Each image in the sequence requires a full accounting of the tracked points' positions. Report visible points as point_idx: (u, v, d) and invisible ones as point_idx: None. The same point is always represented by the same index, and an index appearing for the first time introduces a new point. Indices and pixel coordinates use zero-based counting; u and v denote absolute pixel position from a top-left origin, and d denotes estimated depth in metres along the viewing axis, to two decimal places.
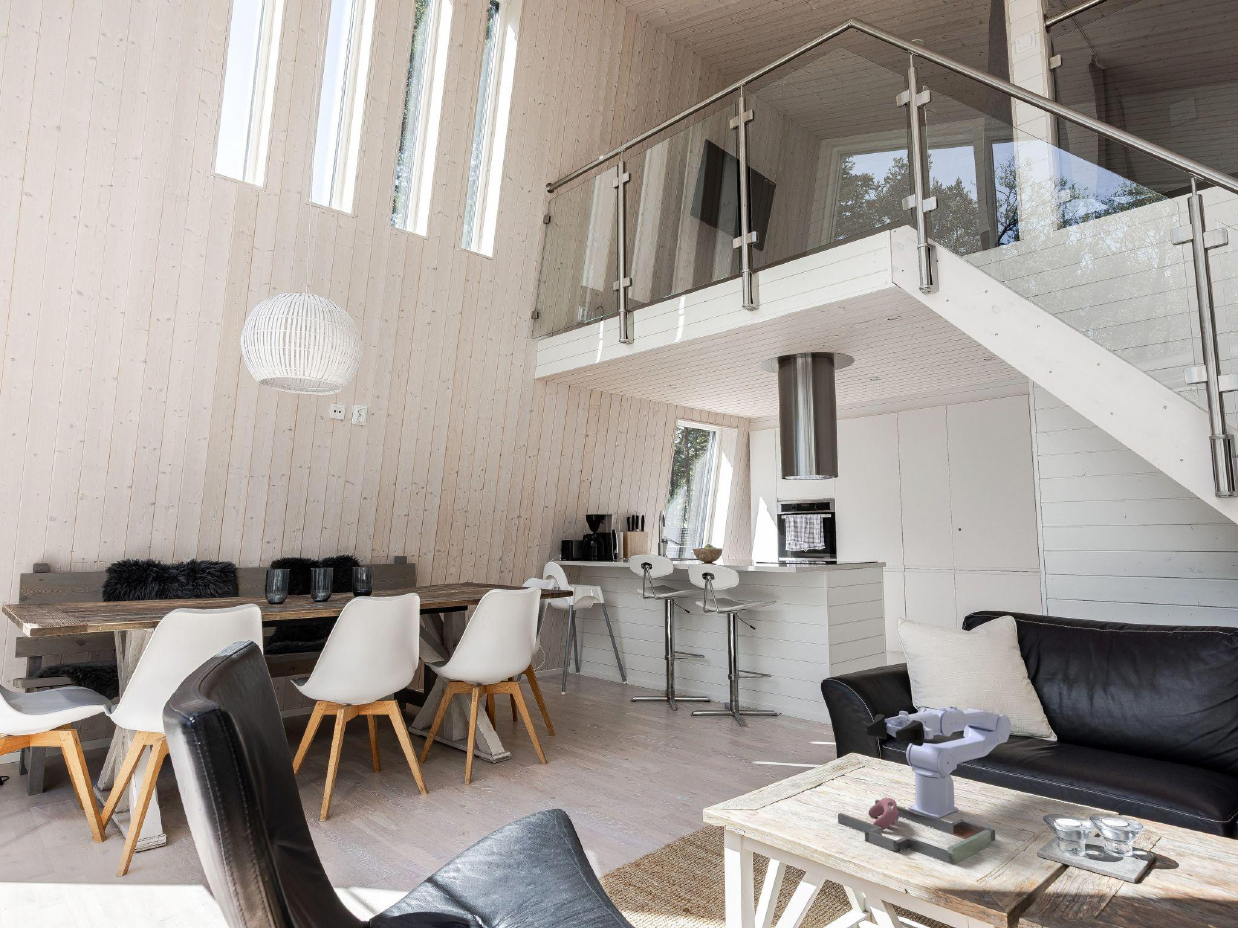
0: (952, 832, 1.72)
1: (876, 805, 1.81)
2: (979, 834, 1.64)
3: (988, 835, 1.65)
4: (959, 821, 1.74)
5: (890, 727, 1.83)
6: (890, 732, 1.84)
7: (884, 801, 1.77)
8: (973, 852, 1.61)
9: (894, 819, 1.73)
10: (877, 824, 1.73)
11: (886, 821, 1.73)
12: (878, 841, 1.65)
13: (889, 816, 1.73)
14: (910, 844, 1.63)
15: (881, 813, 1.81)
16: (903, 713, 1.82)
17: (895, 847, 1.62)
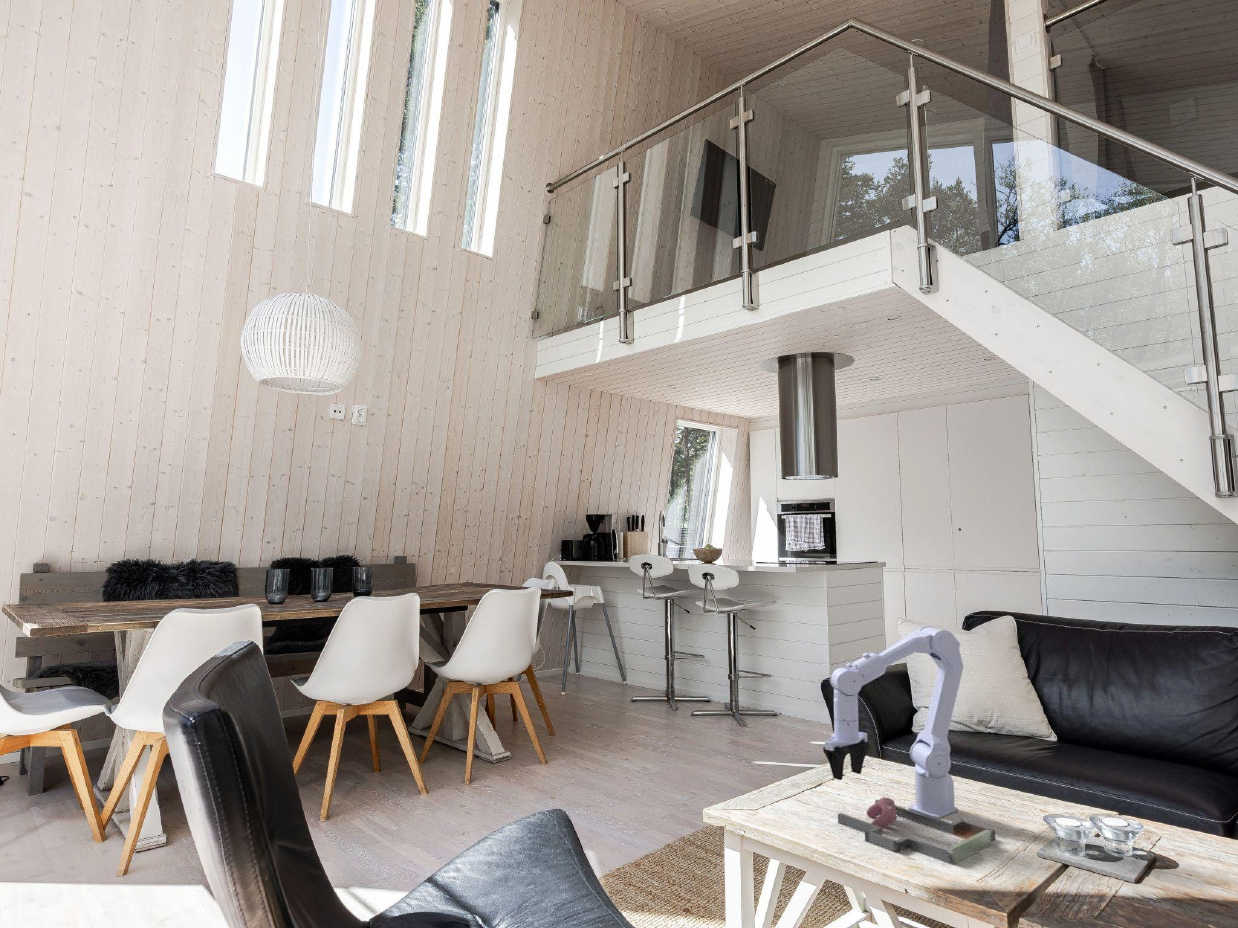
0: (952, 832, 1.72)
1: (874, 805, 1.81)
2: (979, 834, 1.64)
3: (988, 835, 1.65)
4: (959, 821, 1.74)
5: None
6: None
7: (882, 801, 1.77)
8: (973, 852, 1.61)
9: (892, 819, 1.73)
10: (875, 824, 1.73)
11: (884, 821, 1.73)
12: (878, 841, 1.65)
13: (887, 816, 1.73)
14: (910, 844, 1.63)
15: (879, 813, 1.81)
16: None
17: (895, 847, 1.62)
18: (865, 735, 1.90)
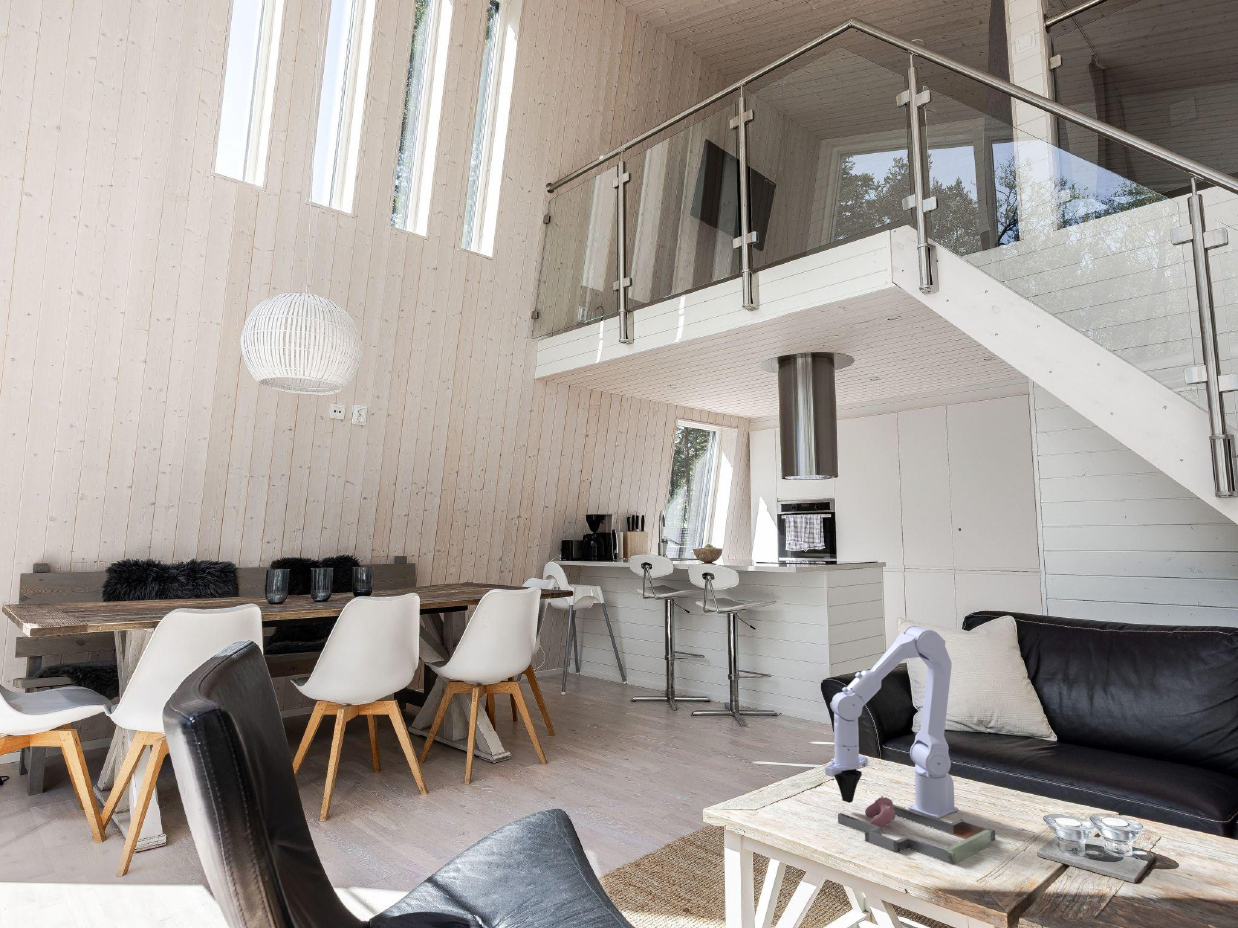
0: (952, 832, 1.72)
1: (873, 805, 1.82)
2: (979, 834, 1.64)
3: (988, 835, 1.65)
4: (959, 821, 1.74)
5: None
6: None
7: (881, 801, 1.77)
8: (973, 852, 1.61)
9: (890, 819, 1.73)
10: (873, 824, 1.73)
11: (882, 821, 1.73)
12: (878, 841, 1.65)
13: (885, 816, 1.73)
14: (910, 844, 1.63)
15: (878, 813, 1.81)
16: None
17: (895, 847, 1.62)
18: (865, 760, 1.89)
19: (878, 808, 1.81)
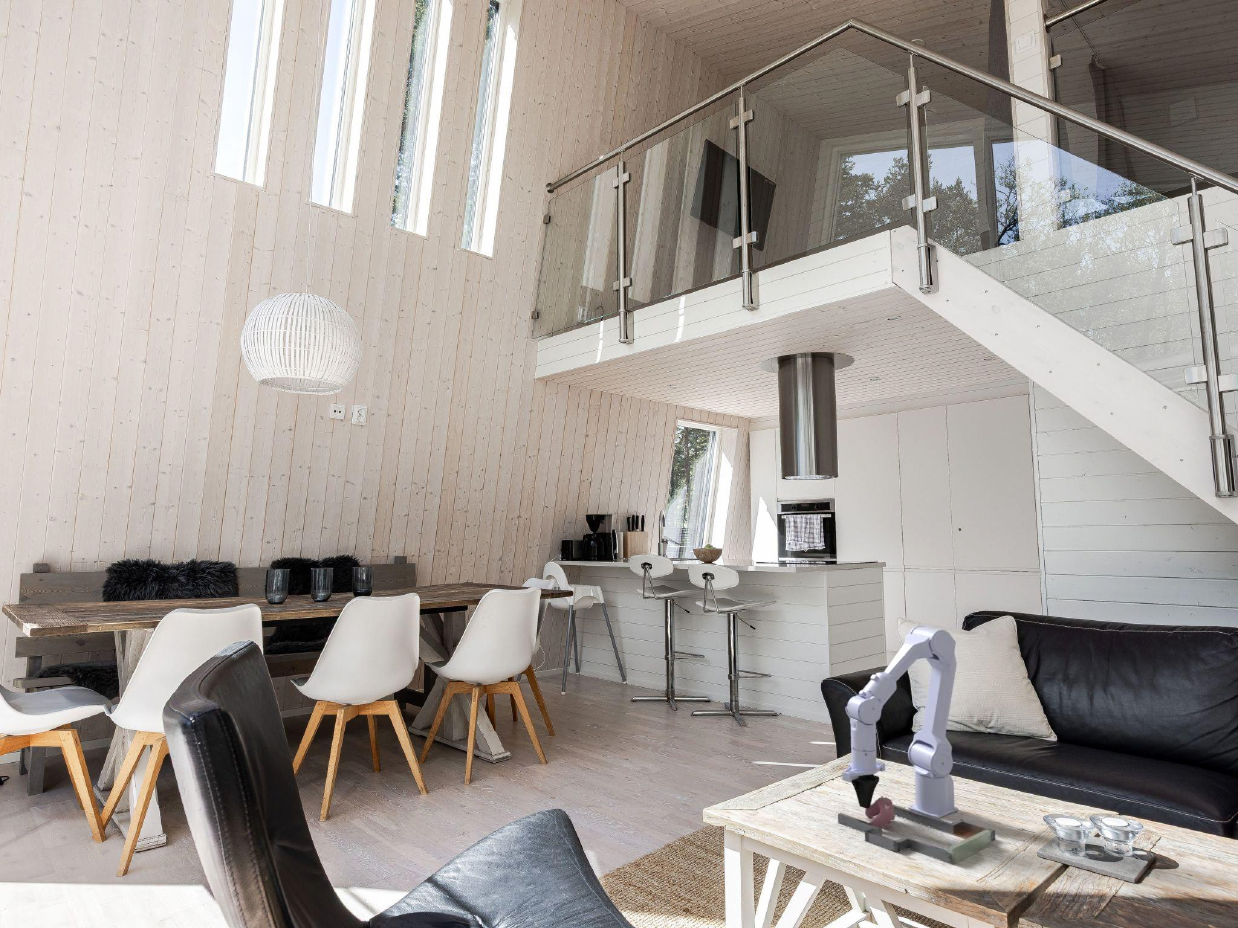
0: (952, 832, 1.72)
1: (873, 805, 1.81)
2: (979, 834, 1.64)
3: (988, 835, 1.65)
4: (959, 821, 1.74)
5: None
6: None
7: (880, 801, 1.77)
8: (973, 852, 1.61)
9: (890, 819, 1.73)
10: (873, 823, 1.73)
11: (881, 821, 1.73)
12: (878, 841, 1.65)
13: (885, 816, 1.73)
14: (910, 844, 1.63)
15: (878, 813, 1.81)
16: None
17: (895, 847, 1.62)
18: (883, 765, 1.85)
19: (878, 808, 1.80)
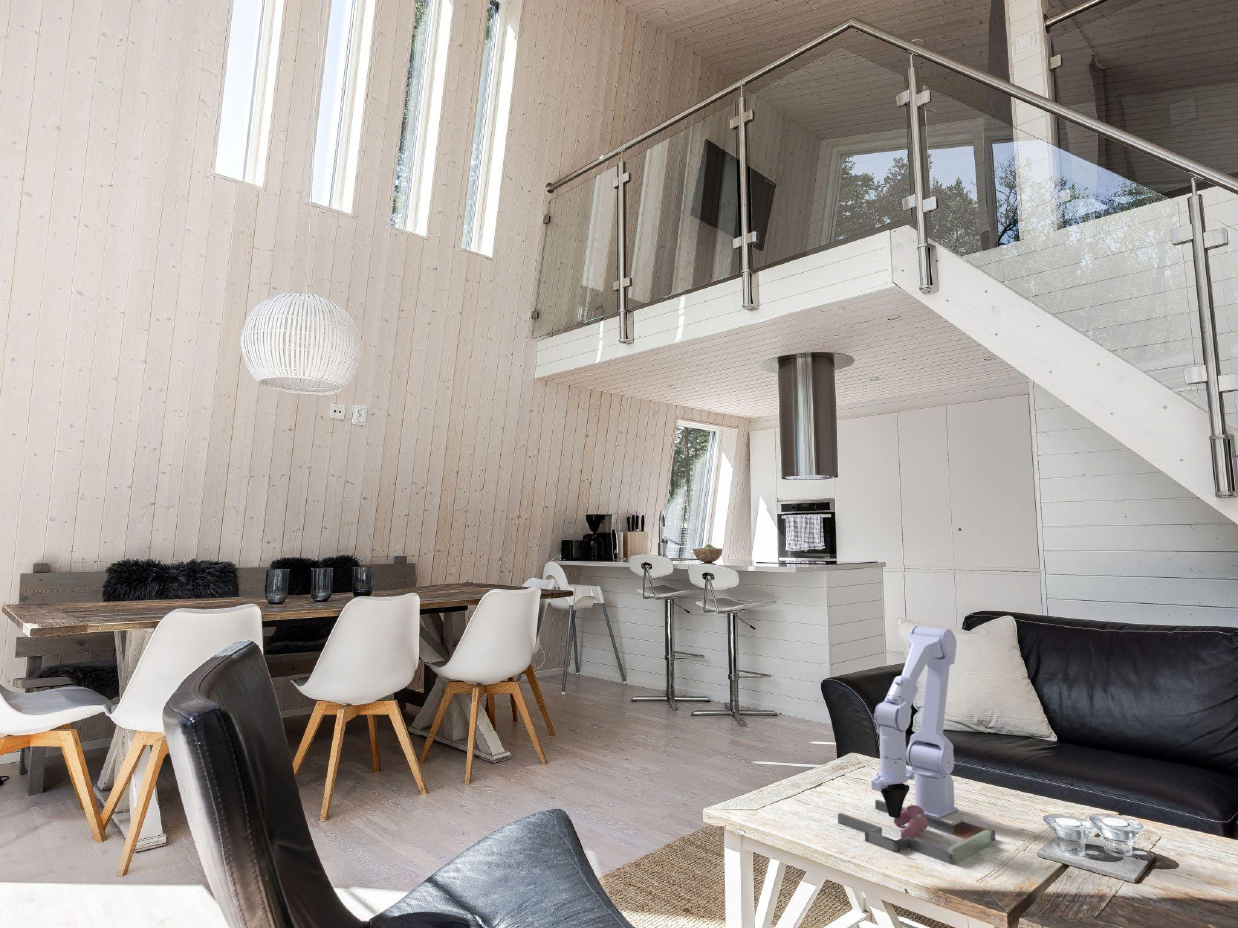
0: (952, 832, 1.72)
1: (902, 813, 1.76)
2: (979, 834, 1.64)
3: (988, 835, 1.65)
4: (959, 821, 1.74)
5: None
6: None
7: (911, 809, 1.72)
8: (973, 852, 1.61)
9: (923, 828, 1.67)
10: (906, 833, 1.68)
11: (914, 830, 1.68)
12: (878, 841, 1.65)
13: (918, 825, 1.68)
14: (910, 844, 1.63)
15: (907, 821, 1.75)
16: None
17: (895, 847, 1.62)
18: (912, 773, 1.79)
19: (907, 816, 1.75)
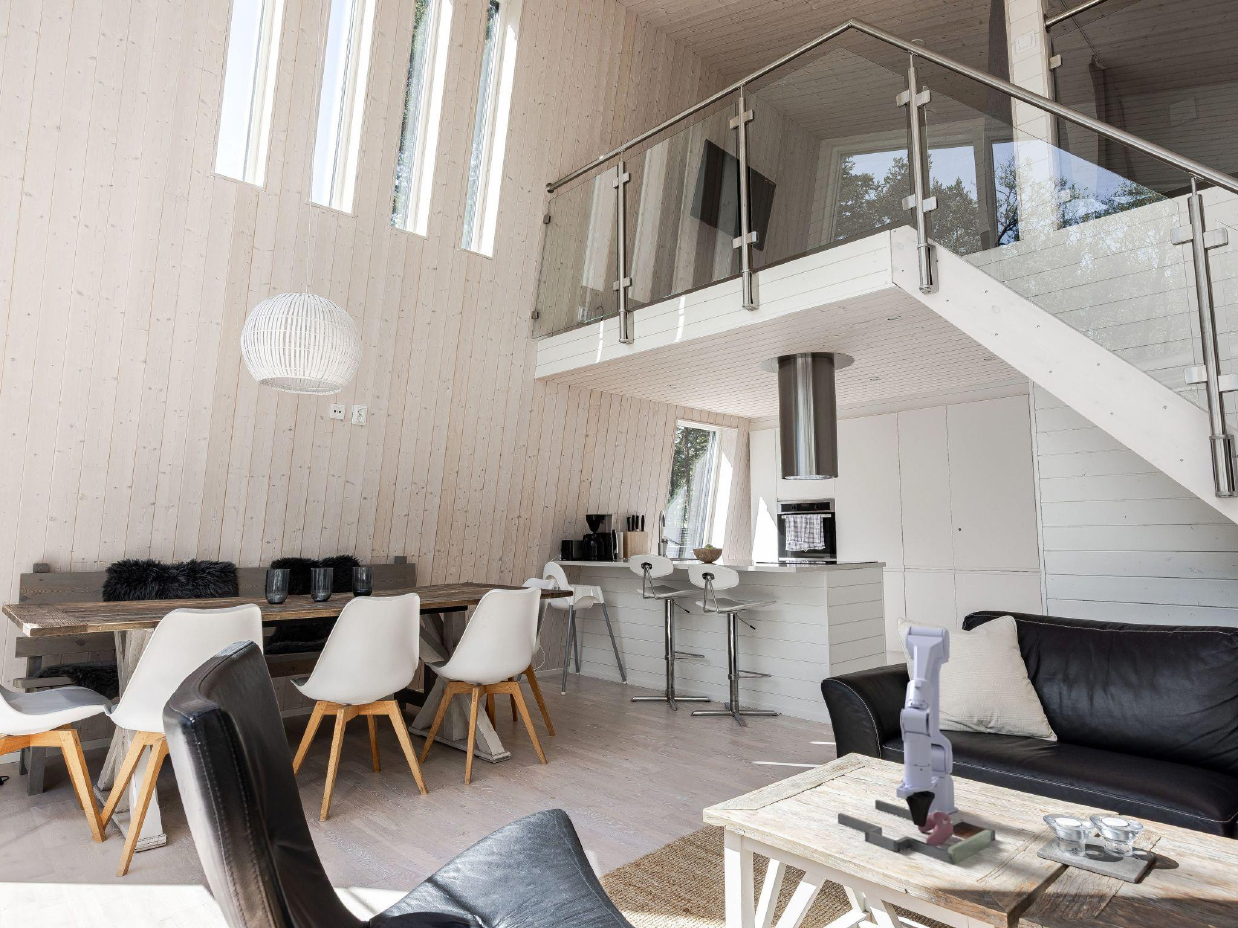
0: None
1: None
2: (979, 834, 1.64)
3: (988, 835, 1.65)
4: (959, 821, 1.74)
5: None
6: None
7: (936, 815, 1.68)
8: (973, 852, 1.61)
9: (949, 834, 1.64)
10: (931, 840, 1.64)
11: (940, 837, 1.64)
12: (878, 841, 1.65)
13: (943, 832, 1.64)
14: (910, 844, 1.63)
15: (931, 827, 1.72)
16: None
17: (895, 847, 1.62)
18: (937, 780, 1.74)
19: (932, 822, 1.72)
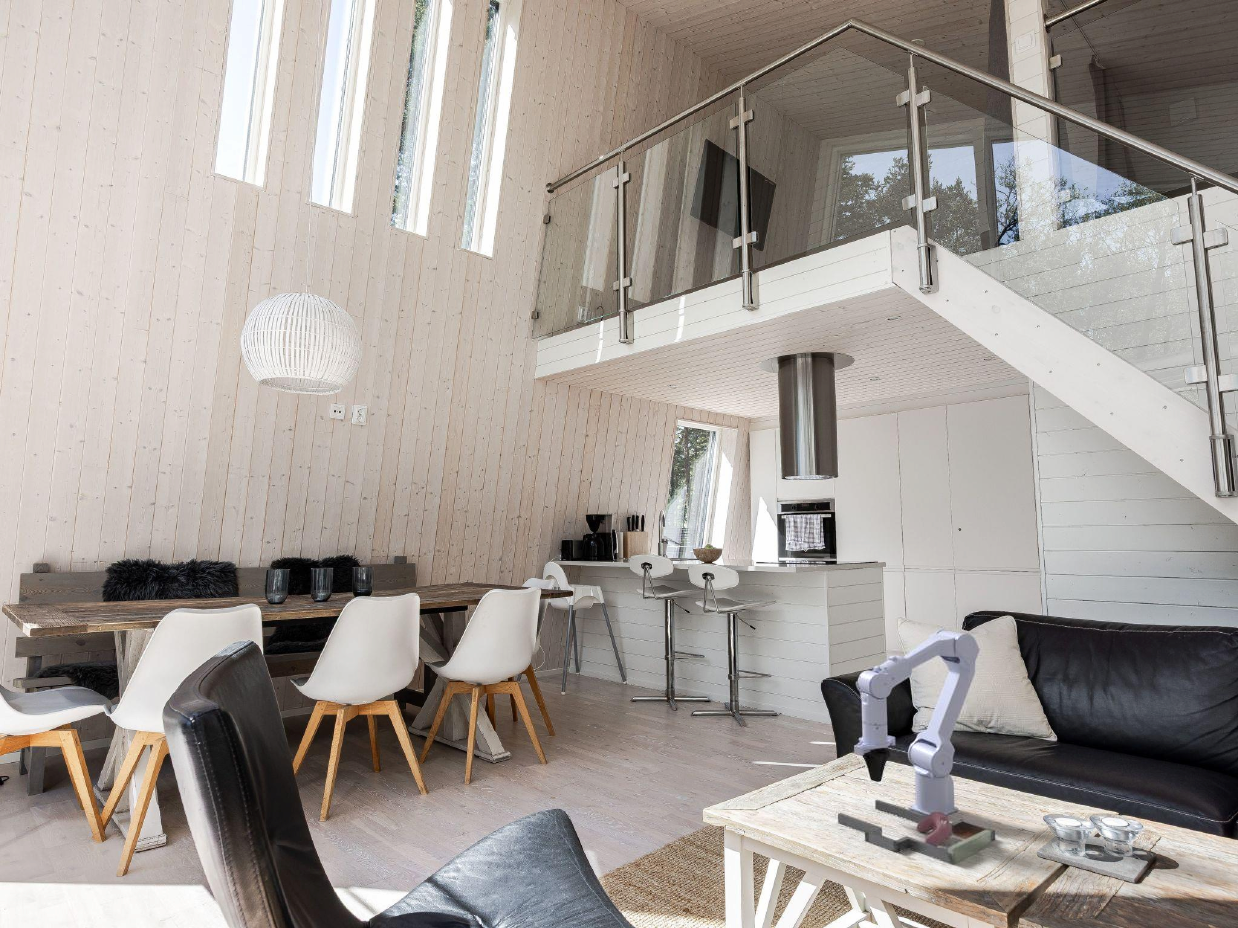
0: (952, 832, 1.72)
1: (925, 819, 1.72)
2: (979, 834, 1.64)
3: (988, 835, 1.65)
4: (959, 821, 1.74)
5: None
6: None
7: (935, 815, 1.68)
8: (973, 852, 1.61)
9: (948, 835, 1.64)
10: (930, 840, 1.64)
11: (939, 837, 1.64)
12: (878, 841, 1.65)
13: (942, 832, 1.64)
14: (910, 844, 1.63)
15: (931, 828, 1.72)
16: None
17: (895, 847, 1.62)
18: (893, 739, 1.87)
19: (931, 823, 1.72)
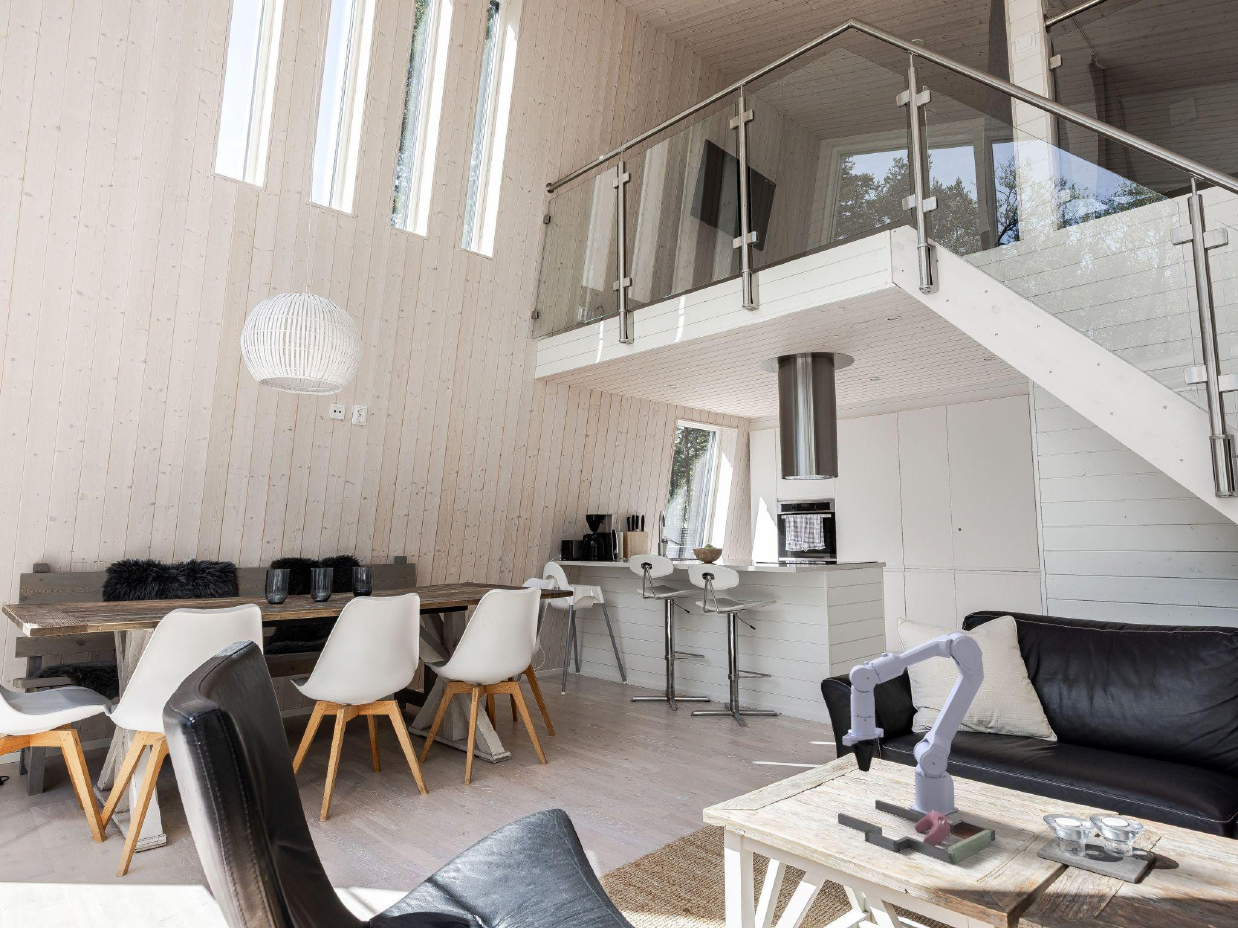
0: (952, 832, 1.72)
1: (923, 819, 1.72)
2: (979, 834, 1.64)
3: (988, 835, 1.65)
4: (959, 821, 1.74)
5: None
6: None
7: (933, 815, 1.68)
8: (973, 852, 1.61)
9: (946, 835, 1.64)
10: (928, 840, 1.64)
11: (937, 837, 1.64)
12: (878, 841, 1.65)
13: (940, 832, 1.64)
14: (910, 844, 1.63)
15: (929, 828, 1.72)
16: None
17: (895, 847, 1.62)
18: (881, 731, 1.94)
19: (929, 823, 1.72)
